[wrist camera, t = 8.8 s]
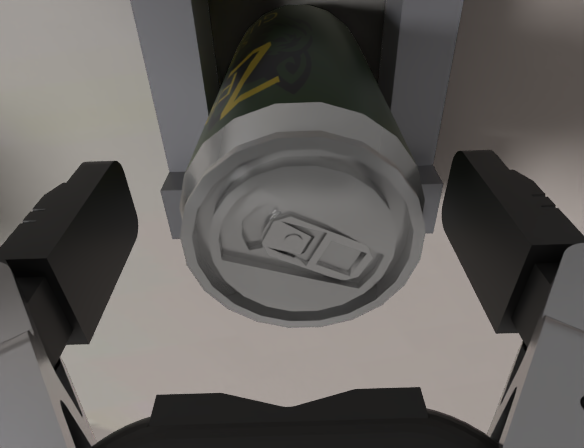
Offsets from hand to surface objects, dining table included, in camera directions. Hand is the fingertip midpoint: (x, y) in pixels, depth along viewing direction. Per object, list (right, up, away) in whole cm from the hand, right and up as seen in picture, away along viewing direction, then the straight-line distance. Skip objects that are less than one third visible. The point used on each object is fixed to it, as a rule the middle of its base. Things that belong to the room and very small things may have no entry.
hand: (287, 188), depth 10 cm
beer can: (0, +6, +8) cm, 10 cm away
